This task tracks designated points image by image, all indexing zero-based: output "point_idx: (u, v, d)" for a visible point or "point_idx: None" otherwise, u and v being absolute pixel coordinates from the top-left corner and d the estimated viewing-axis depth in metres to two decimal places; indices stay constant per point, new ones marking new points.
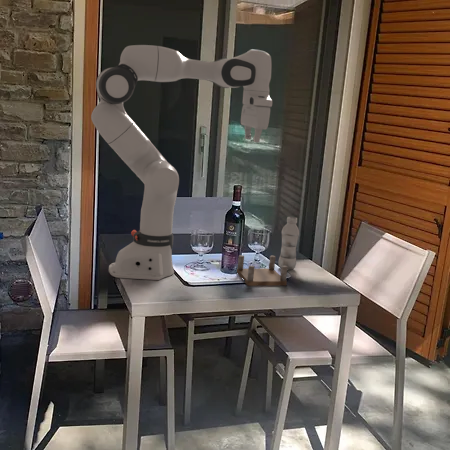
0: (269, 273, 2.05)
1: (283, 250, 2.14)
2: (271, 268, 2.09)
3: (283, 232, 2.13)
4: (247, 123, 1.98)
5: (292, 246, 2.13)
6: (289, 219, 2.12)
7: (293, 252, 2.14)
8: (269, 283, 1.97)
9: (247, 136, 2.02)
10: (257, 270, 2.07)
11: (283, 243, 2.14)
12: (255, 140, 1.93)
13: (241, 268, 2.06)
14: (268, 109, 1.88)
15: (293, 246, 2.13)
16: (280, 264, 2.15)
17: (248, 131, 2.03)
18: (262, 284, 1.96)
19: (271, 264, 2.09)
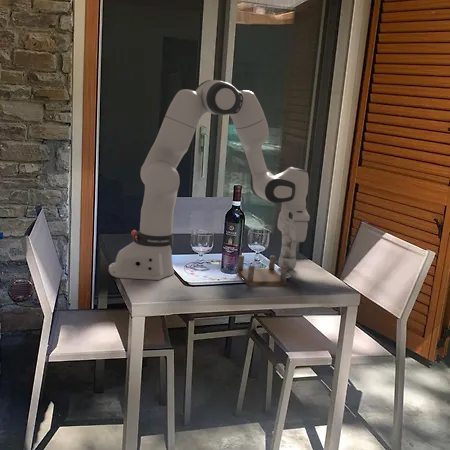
0: (269, 273, 2.05)
1: (283, 250, 2.14)
2: (271, 268, 2.09)
3: (283, 232, 2.13)
4: None
5: None
6: None
7: (293, 252, 2.14)
8: (269, 283, 1.97)
9: None
10: (257, 270, 2.07)
11: (283, 243, 2.14)
12: (291, 248, 2.11)
13: (241, 268, 2.06)
14: (306, 224, 2.05)
15: None
16: (280, 264, 2.15)
17: None
18: (262, 284, 1.96)
19: (271, 264, 2.09)
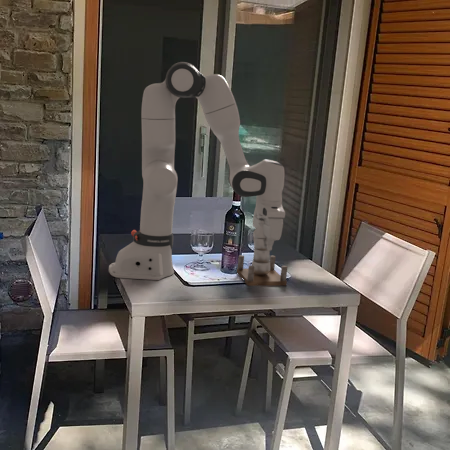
0: (269, 273, 2.05)
1: (255, 254, 2.00)
2: (271, 268, 2.09)
3: (254, 235, 1.98)
4: None
5: (265, 250, 1.98)
6: (260, 221, 1.97)
7: (266, 256, 1.99)
8: (269, 283, 1.97)
9: None
10: None
11: (255, 247, 1.99)
12: (267, 248, 1.95)
13: (241, 268, 2.06)
14: (281, 221, 1.90)
15: (266, 250, 1.99)
16: None
17: None
18: (262, 284, 1.96)
19: (271, 264, 2.09)
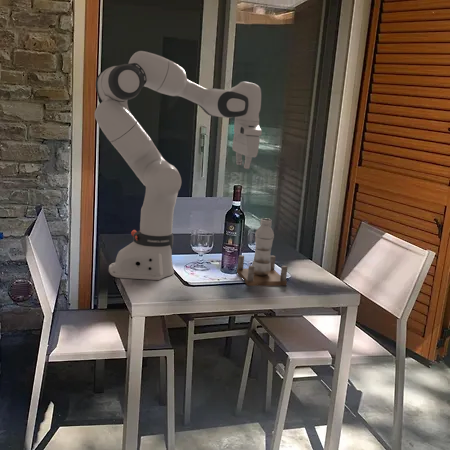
0: (269, 273, 2.05)
1: (256, 254, 2.00)
2: (271, 268, 2.09)
3: (256, 235, 1.98)
4: (238, 150, 2.10)
5: (266, 250, 1.98)
6: (263, 221, 1.97)
7: (267, 256, 1.99)
8: (269, 283, 1.97)
9: (238, 162, 2.14)
10: None
11: (256, 247, 1.99)
12: (245, 167, 2.05)
13: (241, 268, 2.06)
14: (257, 138, 2.00)
15: (267, 250, 1.99)
16: None
17: (239, 157, 2.15)
18: (262, 284, 1.96)
19: (271, 264, 2.09)
